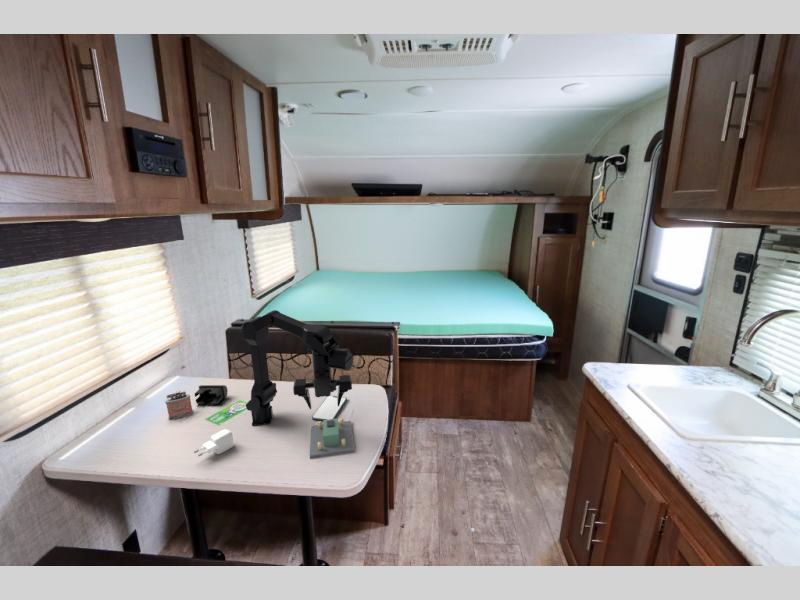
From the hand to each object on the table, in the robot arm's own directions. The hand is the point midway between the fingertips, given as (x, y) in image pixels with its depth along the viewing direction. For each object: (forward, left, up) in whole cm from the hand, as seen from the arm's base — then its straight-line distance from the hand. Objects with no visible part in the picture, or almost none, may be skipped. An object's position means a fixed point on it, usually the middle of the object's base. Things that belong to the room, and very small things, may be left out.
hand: (324, 407), depth 124 cm
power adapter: (-35, -2, -11) cm, 37 cm away
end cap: (-45, +32, -11) cm, 57 cm away
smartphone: (+1, +15, -11) cm, 19 cm away
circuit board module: (+2, -3, -10) cm, 10 cm away
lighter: (-54, +24, -11) cm, 60 cm away
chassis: (+2, -3, -11) cm, 11 cm away
